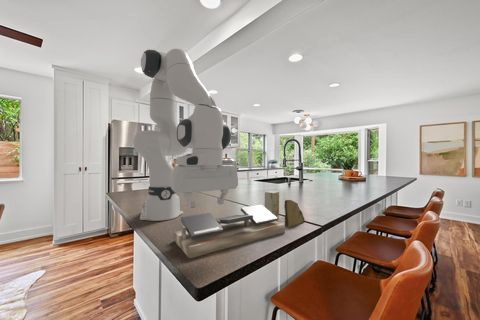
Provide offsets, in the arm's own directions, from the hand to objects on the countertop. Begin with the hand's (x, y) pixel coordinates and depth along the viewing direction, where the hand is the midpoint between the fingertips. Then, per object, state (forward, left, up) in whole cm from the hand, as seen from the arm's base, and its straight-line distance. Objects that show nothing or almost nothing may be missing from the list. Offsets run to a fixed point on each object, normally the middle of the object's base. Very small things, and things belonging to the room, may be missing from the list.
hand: (206, 205), depth 61 cm
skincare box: (-12, +37, -13) cm, 41 cm away
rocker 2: (-4, +23, -7) cm, 24 cm away
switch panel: (-4, +12, -13) cm, 18 cm away
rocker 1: (-4, 0, -7) cm, 8 cm away
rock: (-2, +41, -13) cm, 43 cm away
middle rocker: (-4, +12, -7) cm, 14 cm away
